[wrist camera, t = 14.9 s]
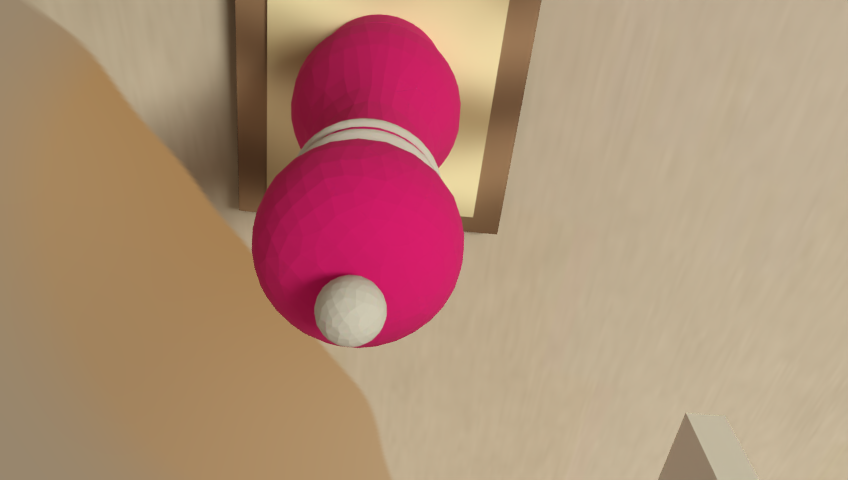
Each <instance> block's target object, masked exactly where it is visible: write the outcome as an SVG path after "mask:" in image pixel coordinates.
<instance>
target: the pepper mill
mask: <svg viewBox="0 0 848 480" xmlns="http://www.w3.org/2000/svg"><path fill="white" fill-rule="evenodd" d="M460 108H461V102H460V95H459V88H458V85H457V82H456V79H455V75H454V73H453V72H452V70H451V68H450V66H449V64H448V62H447V61H446V60H445V58H444V57H443V56H442V54H441V53H440V52H439V51H438V49H437V48H436V46H435V45H434V43H433V41H432V40H431V39H430V38H429V37H428V36H427V34H425V33H424V32H423V31H422V30H421V29H420V28H418V27H417V26H415V25H414V24H413V23H411V22H408V21H406V20H404V19H402V18H399V17H395V16H390V15H382V14H376V15H367V16H362V17H359V18H356V19H354V20H351V21H349V22H347V23H346V24H344V25H343V26H341V27H340V28H339V29H338V30H336V31H335V32H334V33H333V34H332V35H330V36H328V37H327V38H325V39H324V40H323V41H322V42H321V43H319V44H318V45H317V46H316V47H315V48H314V49H313V50H312V51H311V53H310V54H309V55H308V56H307V58H306V59H305V61H304V63H303V64H302V66H301V68H300V70H299V73H298V75H297V78H296V81H295V86H294V91H293V96H292V101H291V120H292V125H293V129H294V133H295V136H296V139H297V141H298V144H299V146H300V149H301V150H300V152H299V153H298V155H297V157H296V158H295V159H294V160H292V161H291V162H290V163H289V164H288V165H287V166H286V167H285V168H284V169H283V170H282V171H281V172H280V173H278V174H277V175H276V176H275V178H274V179H273V181H272V182H271V184H270V185H269V187H268V188H267V190H266V192H265V194H264V196H263V199H262V201H261V203H260V205H259V207H258V209H257V213H256V218H255V222H254V226H253V236H252V255H253V260H254V266H255V270H256V273H257V276H258V279H259V282H260V285H261V287H262V289H263V291H264V293H265V294H266V296H267V298H268V299H269V300H270V302H271V303H272V305H273V306H274V307H275V309H276V310H277V311H278V312H279V313H280V314H281V315H282V316H283V317H284V318H285V319H286V320H288V321H289V322H290V323H291V324H292V325H293V326H295V327H296V328H298V329H299V330H300V331H302V332H303V333H305V334H307V335H309V336H312V337H314V338H316V339H319V340H321V341H323V342H326V343H329V344H333V345H337V346H344V347H354V348H362V347H373V346H379V345H383V344H386V343H390V342H393V341H397V340H399V339H401V338H403V337H405V336H407V335H409V334H411V333H413V332H415V331H416V330H418V329H419V328H420V327H422V326H423V325H425V324H426V323H427V322H429V321H430V320H431V319H432V318H433V317H434V316H435V315H436V314H437V313H438V312H439V311H440V310H441V308H442V307H443V306H444V304H445V303H446V301H447V300H448V298H449V297H450V295H451V293H452V291H453V290H454V288H455V285H456V282H457V279H458V276H459V273H460V270H461V265H462V260H463V251H464V232H463V226H462V220H461V217H460V214H459V211H458V208H457V204H456V201H455V198H454V196H453V195H452V193H451V192H450V190H449V189H448V188H447V186H446V185H445V183H444V182H443V180H442V179H441V176H440V172H439V169H438V168H439V167H440V166H441V165H442V163H443V162H444V161H445V159H446V158H447V157H448V155H449V153H450V151H451V149H452V148H453V146H454V143H455V140H456V137H457V134H458V131H459V121H460Z"/></svg>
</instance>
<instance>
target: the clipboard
mask: <svg viewBox="0 0 848 480" xmlns="http://www.w3.org/2000/svg"><path fill="white" fill-rule="evenodd" d="M540 5H541V0H235V20H236V72H237V124H238V176H239V210H241V211H252V212H257V209H258V207H259V205H260V203H261V201H262V199H263V196H264V194H265V192H266V190H267V188H268V187H269V185H270V184H271V182H272V181H273V179H274V178H275V176H276V175H277V174H278V173H280V172H281V171H282V170H283V169H284V168H285V167H286V166H287V165H288V164H289V163H290V162H291V161H292V160H294V159H295V158H296V157H297V155H298V153H299V152H300V150H301V149H300V146H299V144H298V141H297V139H296V136H295V133H294V129H293V125H292V120H291V101H292V96H293V91H294V86H295V81H296V78H297V75H298V73H299V70H300V68H301V66H302V64H303V63H304V61H305V59H306V58H307V56H308V55H309V54H310V53H311V51H312V50H313V49H314V48H315V47H316V46H317V45H318V44H319V43H321V42H322V41H323V40H324V39H325V38H327V37H328V36H330V35H332V34H333V33H334V32H335V31H336V30H338V29H339V28H340V27H341V26H343V25H344V24H346V23H347V22H349V21H351V20H354V19H356V18H359V17H362V16H367V15H376V14H382V15H390V16H395V17H399V18H402V19H404V20H406V21H408V22H411V23H413V24H414V25H415V26H417V27H418V28H420V29H421V30H422V31H423V32H424V33H425V34H427V36H428V37H429V38H430V39H431V40H432V41H433V43H434V45H435V46H436V48H437V49H438V51H439V52H440V53H441V54H442V56H443V57H444V58H445V60H446V61H447V62H448V64H449V66H450V68H451V70H452V72H453V73H454V75H455V79H456V82H457V85H458V88H459V95H460V102H461V108H460V121H459V131H458V134H457V137H456V140H455V143H454V146H453V148H452V149H451V151H450V153H449V155H448V157H447V158H446V159H445V161H444V162H443V163H442V165H441V166H440V167H439V168H438V169H439V172H440V176H441V179H442V180H443V182H444V183H445V185H446V186H447V188H448V189H449V190H450V192H451V193H452V195H453V196H454V198H455V201H456V204H457V208H458V211H459V214H460V217H461V220H462V226H463V231H467V232H478V233H489V234H497V232H498V226H499V221H500V216H501V211H502V205H503V200H504V195H505V189H506V184H507V179H508V174H509V168H510V163H511V158H512V153H513V147H514V142H515V137H516V131H517V126H518V121H519V116H520V110H521V105H522V100H523V95H524V89H525V84H526V79H527V74H528V68H529V63H530V58H531V52H532V47H533V42H534V37H535V31H536V26H537V21H538V16H539V10H540Z"/></svg>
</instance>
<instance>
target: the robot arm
mask: <svg viewBox="0 0 848 480" xmlns="http://www.w3.org/2000/svg"><path fill="white" fill-rule="evenodd" d="M658 480H760V479H759V478H758V476H757V474H756V472H755V470H754V468H753V466H752V465H751V463H750V461H749V459H748V457H747V455H746V453H745V452H744V450H743V448H742V446H741V444H740V442H739V440H738V439H737V437H736V435H735V433H734V431H733V429H732V427H731V426H730V424H729V422H728V420H727V418H726V416H724V415H710V414H697V413H685V416H684V418H683V421H682V423H681V426H680V428H679V430H678V433H677V435H676V438H675V440H674V443H673V445H672V447H671V450H670V452H669V455H668V457H667V460H666V462H665V464H664V467H663V469H662V472H661V474H660V477H659V479H658Z"/></svg>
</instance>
